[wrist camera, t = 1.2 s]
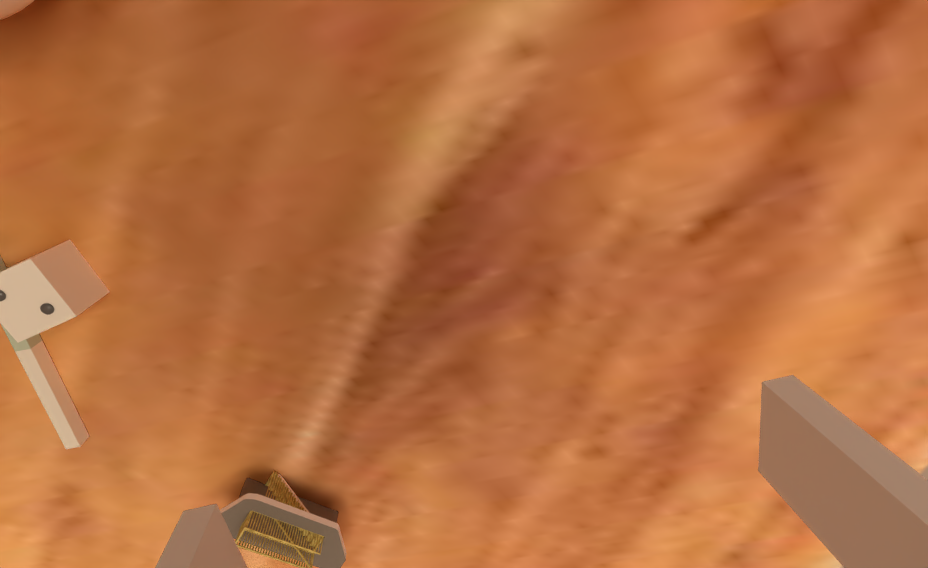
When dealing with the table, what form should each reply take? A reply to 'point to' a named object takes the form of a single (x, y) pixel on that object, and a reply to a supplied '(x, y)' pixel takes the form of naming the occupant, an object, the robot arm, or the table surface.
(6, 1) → the lidded bowl
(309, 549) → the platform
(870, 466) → the robot arm
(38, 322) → the die
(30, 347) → the track
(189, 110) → the table surface
